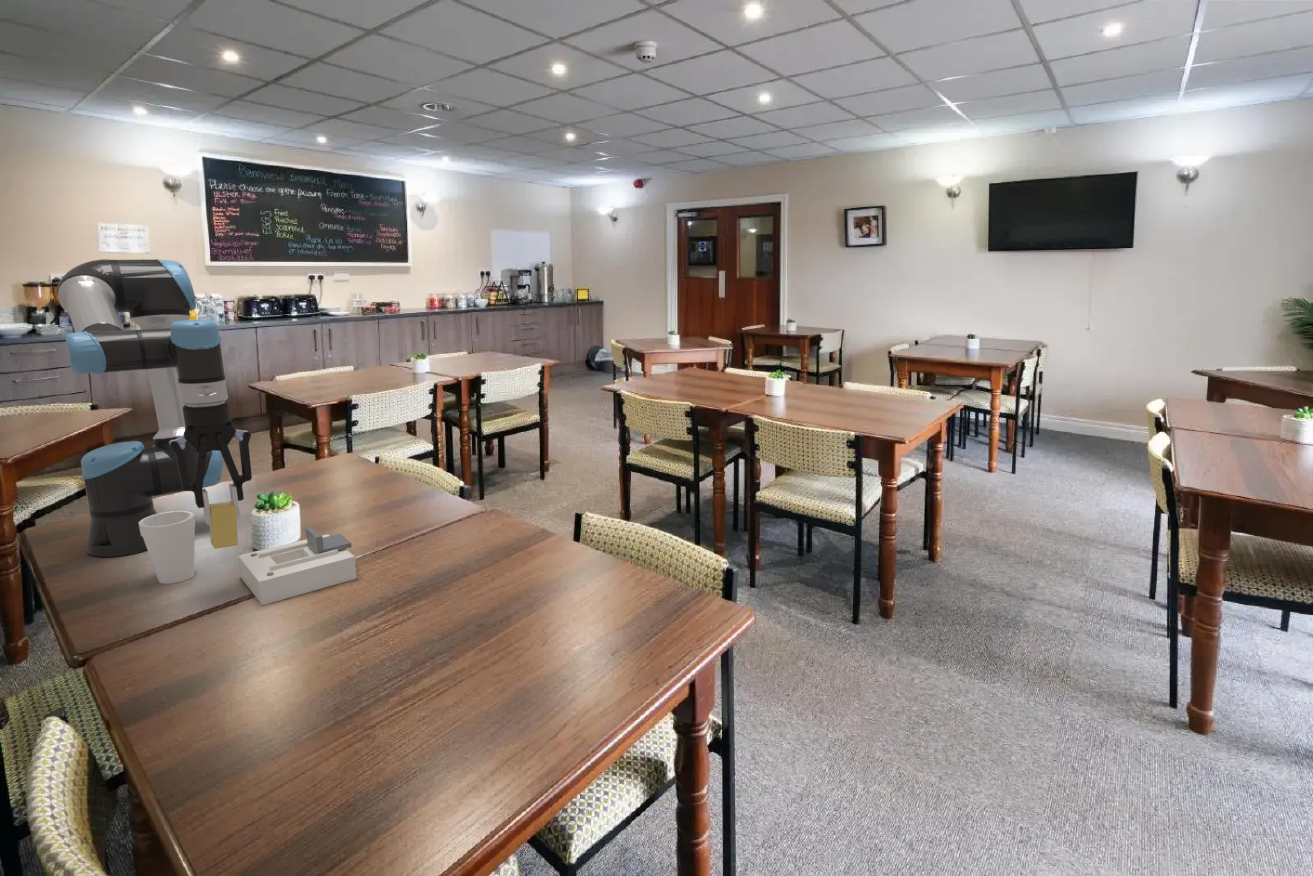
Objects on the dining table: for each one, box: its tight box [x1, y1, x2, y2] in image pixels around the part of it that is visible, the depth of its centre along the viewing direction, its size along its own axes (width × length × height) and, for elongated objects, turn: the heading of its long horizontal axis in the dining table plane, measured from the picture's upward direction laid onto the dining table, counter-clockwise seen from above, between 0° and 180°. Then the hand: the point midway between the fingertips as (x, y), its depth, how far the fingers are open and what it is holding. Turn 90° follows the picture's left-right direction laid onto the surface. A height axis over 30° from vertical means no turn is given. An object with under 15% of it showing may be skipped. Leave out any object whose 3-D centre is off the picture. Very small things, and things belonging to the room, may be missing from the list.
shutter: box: [305, 526, 352, 554], centre depth 151 cm, size 7×7×4 cm
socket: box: [237, 533, 357, 606], centre depth 148 cm, size 16×18×6 cm
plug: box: [208, 500, 239, 550], centre depth 139 cm, size 4×4×8 cm
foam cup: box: [139, 510, 197, 585], centre depth 146 cm, size 10×9×13 cm
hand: (222, 519), depth 139 cm, fingers closed on plug, 4 cm apart
